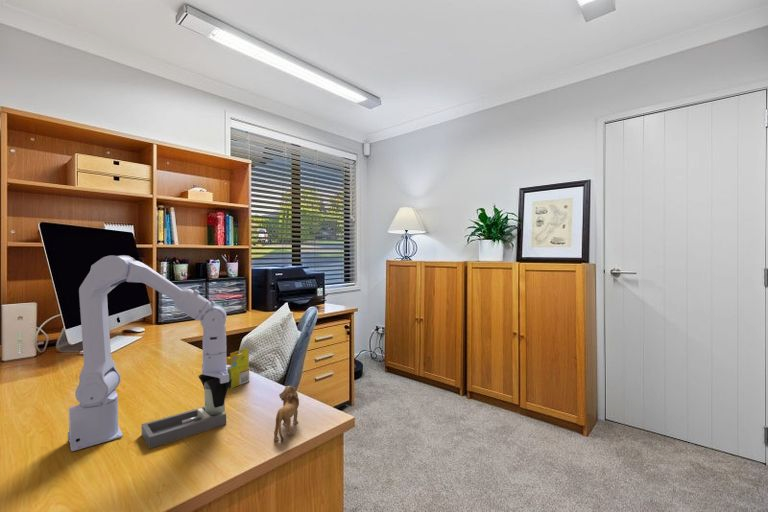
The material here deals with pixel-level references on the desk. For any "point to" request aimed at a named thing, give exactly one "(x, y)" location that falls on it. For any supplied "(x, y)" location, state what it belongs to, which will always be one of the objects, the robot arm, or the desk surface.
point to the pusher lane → (178, 427)
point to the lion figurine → (287, 411)
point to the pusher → (200, 416)
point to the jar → (211, 402)
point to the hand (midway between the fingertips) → (215, 403)
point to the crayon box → (238, 367)
